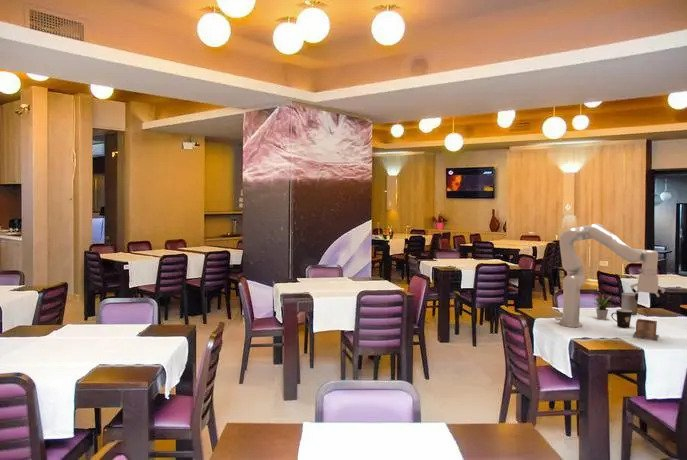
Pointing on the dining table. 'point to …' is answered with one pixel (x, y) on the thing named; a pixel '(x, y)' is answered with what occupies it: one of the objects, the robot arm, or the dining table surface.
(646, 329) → the wooden cube shelf
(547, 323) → the dining table surface
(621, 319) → the coffee mug
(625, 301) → the pillar candle
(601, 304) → the house plant
